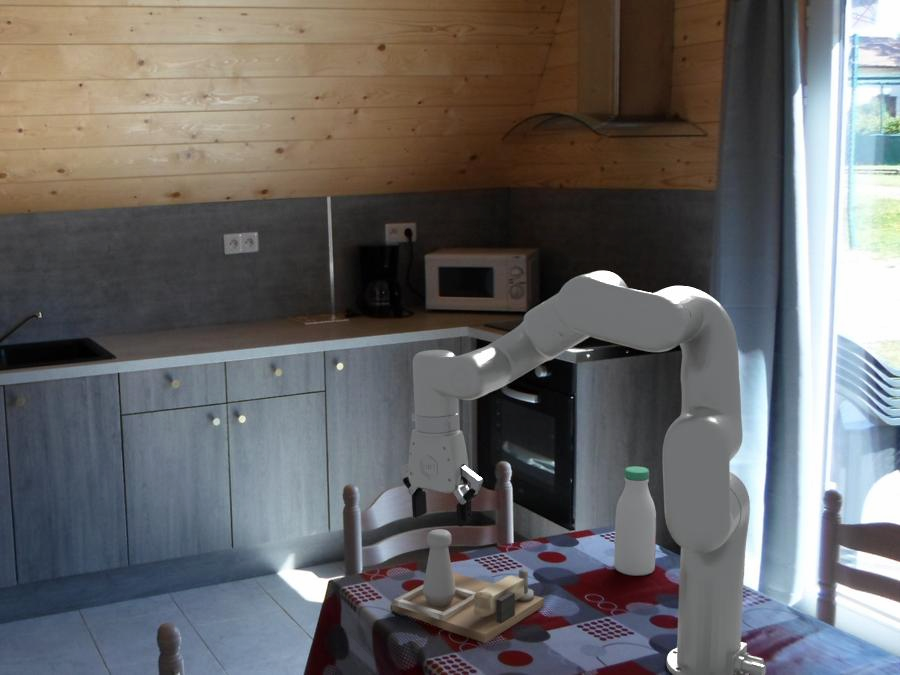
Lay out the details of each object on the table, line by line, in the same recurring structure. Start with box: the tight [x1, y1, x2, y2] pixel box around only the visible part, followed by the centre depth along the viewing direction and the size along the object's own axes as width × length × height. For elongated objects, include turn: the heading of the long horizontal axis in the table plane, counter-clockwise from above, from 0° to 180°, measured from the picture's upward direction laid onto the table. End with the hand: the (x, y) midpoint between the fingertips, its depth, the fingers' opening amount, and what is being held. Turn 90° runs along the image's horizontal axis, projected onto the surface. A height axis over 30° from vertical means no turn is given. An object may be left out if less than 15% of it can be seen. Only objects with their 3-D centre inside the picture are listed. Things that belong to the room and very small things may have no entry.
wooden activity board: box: [391, 568, 545, 644], centre depth 186 cm, size 20×18×6 cm
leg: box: [474, 574, 524, 616], centre depth 182 cm, size 12×3×3 cm, turn 142°
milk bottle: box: [613, 465, 657, 577], centre depth 203 cm, size 8×8×20 cm
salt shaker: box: [422, 528, 456, 607], centre depth 185 cm, size 6×6×13 cm
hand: (441, 519), depth 183 cm, fingers open, 9 cm apart
